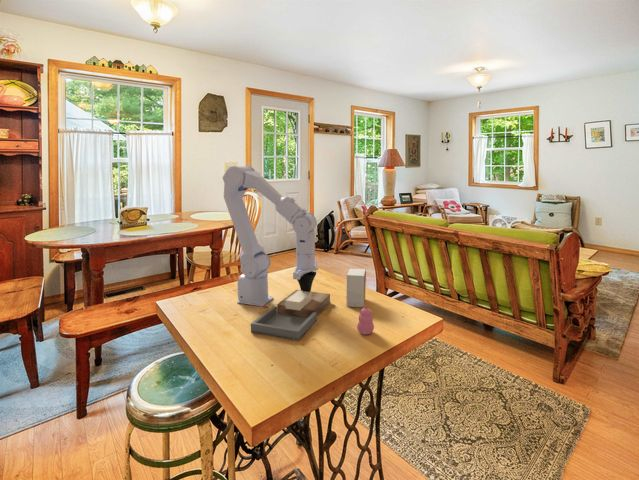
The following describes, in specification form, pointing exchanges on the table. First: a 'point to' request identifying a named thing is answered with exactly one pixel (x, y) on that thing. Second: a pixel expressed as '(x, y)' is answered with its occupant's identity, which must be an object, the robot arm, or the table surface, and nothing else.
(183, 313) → the table surface
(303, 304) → the front tile
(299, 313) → the walnut plate
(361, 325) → the dog chew toy
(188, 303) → the table surface
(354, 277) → the small box
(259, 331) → the box
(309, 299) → the rear tile
